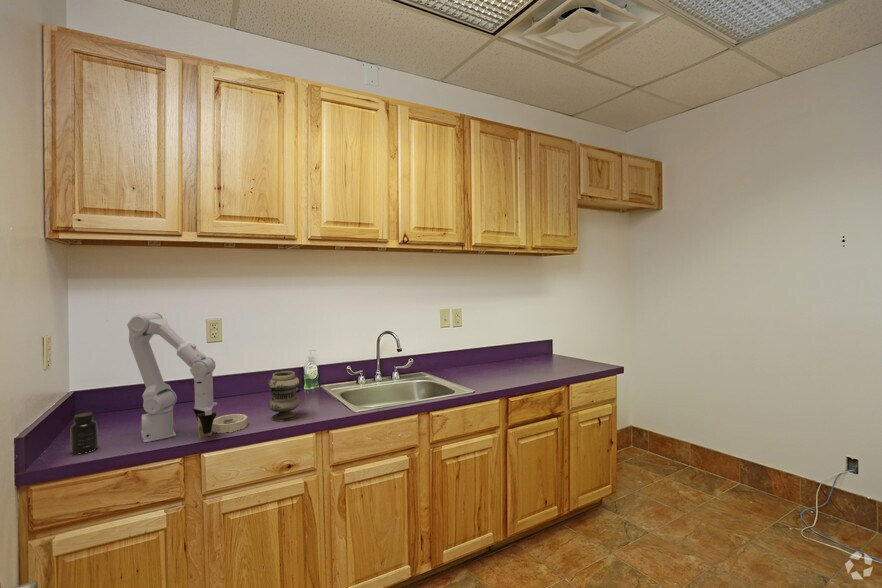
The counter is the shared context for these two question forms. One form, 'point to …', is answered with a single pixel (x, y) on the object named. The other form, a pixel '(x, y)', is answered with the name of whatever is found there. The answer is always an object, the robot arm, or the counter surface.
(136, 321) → the robot arm
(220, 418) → the beige round dish
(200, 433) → the brown wooden block
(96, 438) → the supplement bottle
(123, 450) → the counter surface
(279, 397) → the apothecary jar
